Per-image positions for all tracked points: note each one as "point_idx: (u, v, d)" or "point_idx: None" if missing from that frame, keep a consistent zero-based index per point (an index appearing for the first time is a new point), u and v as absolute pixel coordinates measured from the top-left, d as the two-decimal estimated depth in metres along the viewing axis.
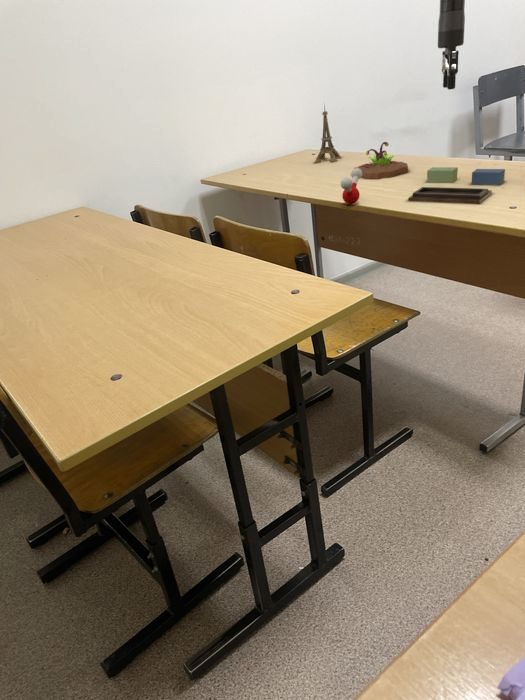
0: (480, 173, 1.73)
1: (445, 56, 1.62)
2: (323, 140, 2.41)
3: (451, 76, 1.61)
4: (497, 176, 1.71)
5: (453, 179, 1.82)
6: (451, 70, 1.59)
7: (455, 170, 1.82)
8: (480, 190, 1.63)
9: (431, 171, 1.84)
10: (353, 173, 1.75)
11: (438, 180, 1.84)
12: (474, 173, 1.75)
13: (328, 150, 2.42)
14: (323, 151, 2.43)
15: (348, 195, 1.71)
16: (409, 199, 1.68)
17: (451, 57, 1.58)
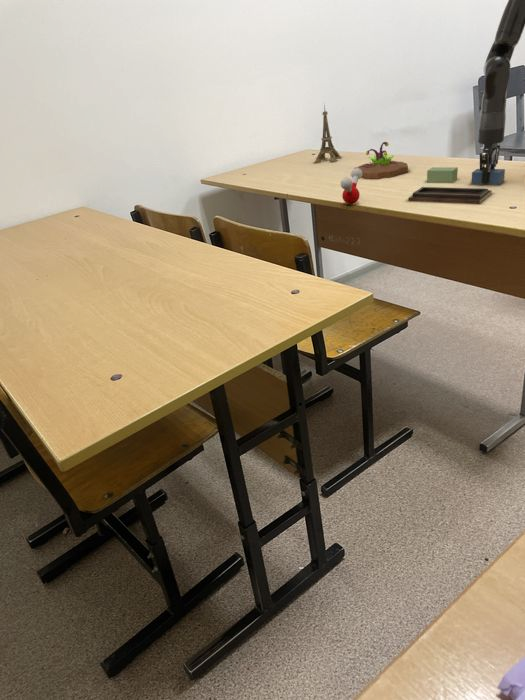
0: (480, 173, 1.73)
1: (482, 151, 1.71)
2: (323, 140, 2.41)
3: (484, 172, 1.71)
4: (497, 176, 1.71)
5: (453, 179, 1.82)
6: (481, 169, 1.70)
7: (455, 170, 1.82)
8: (480, 190, 1.63)
9: (431, 171, 1.84)
10: (353, 173, 1.75)
11: (438, 180, 1.84)
12: (474, 173, 1.75)
13: (328, 150, 2.42)
14: (323, 151, 2.43)
15: (348, 195, 1.71)
16: (409, 199, 1.68)
17: (481, 158, 1.68)
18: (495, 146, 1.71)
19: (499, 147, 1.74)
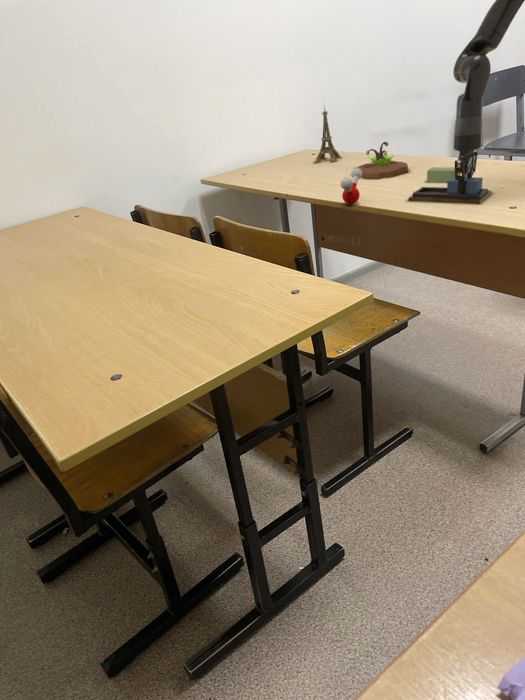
0: (456, 182, 1.61)
1: (458, 159, 1.58)
2: (323, 140, 2.41)
3: (460, 181, 1.59)
4: (474, 186, 1.58)
5: None
6: (457, 177, 1.57)
7: None
8: None
9: (431, 171, 1.84)
10: (353, 173, 1.75)
11: (438, 180, 1.84)
12: (449, 182, 1.62)
13: (328, 150, 2.42)
14: (323, 151, 2.43)
15: (348, 195, 1.71)
16: (409, 199, 1.68)
17: (456, 166, 1.55)
18: (472, 153, 1.58)
19: (477, 154, 1.62)
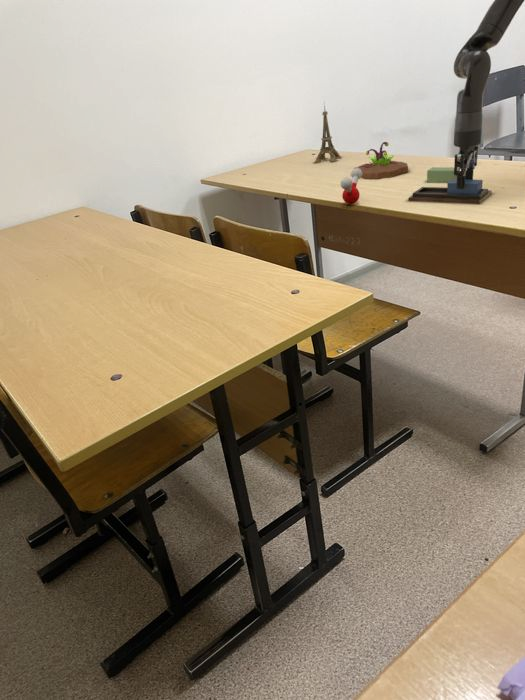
0: (456, 184, 1.61)
1: None
2: (323, 140, 2.41)
3: (459, 177, 1.57)
4: (474, 188, 1.58)
5: None
6: (456, 172, 1.56)
7: None
8: None
9: (431, 171, 1.84)
10: (353, 173, 1.75)
11: (438, 180, 1.84)
12: (449, 184, 1.62)
13: (328, 150, 2.42)
14: (323, 151, 2.43)
15: (348, 195, 1.71)
16: (409, 199, 1.68)
17: (456, 160, 1.54)
18: (472, 149, 1.58)
19: (477, 148, 1.61)
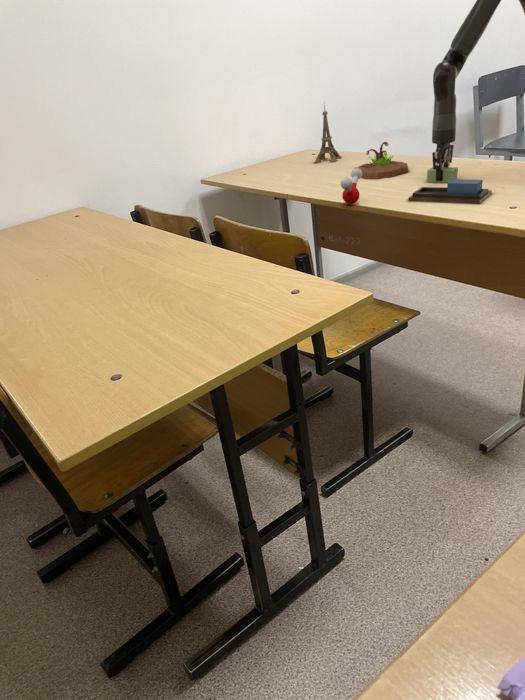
0: (456, 184, 1.61)
1: (436, 151, 1.81)
2: (323, 140, 2.41)
3: (437, 171, 1.82)
4: (474, 188, 1.58)
5: None
6: (434, 167, 1.80)
7: (455, 170, 1.82)
8: None
9: (431, 171, 1.84)
10: (353, 173, 1.75)
11: None
12: (449, 184, 1.62)
13: (328, 150, 2.42)
14: (323, 151, 2.43)
15: (348, 195, 1.71)
16: (409, 199, 1.68)
17: (433, 157, 1.78)
18: (448, 146, 1.81)
19: (452, 147, 1.85)
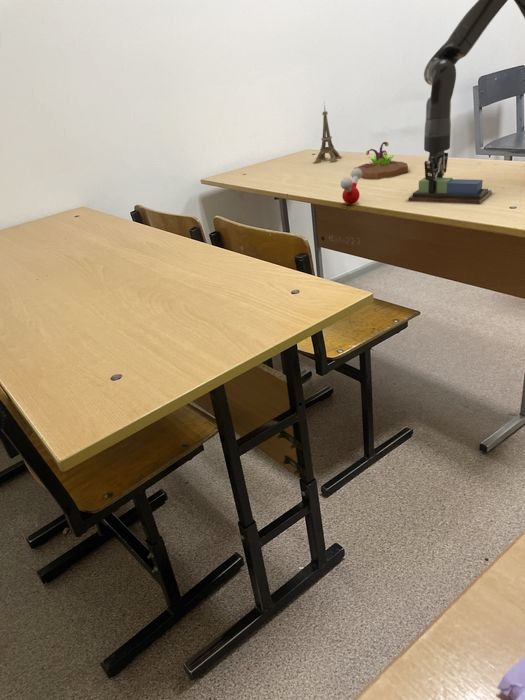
0: (456, 184, 1.61)
1: (428, 159, 1.63)
2: (323, 140, 2.41)
3: (430, 181, 1.64)
4: (474, 188, 1.58)
5: None
6: (427, 177, 1.62)
7: None
8: None
9: (423, 182, 1.67)
10: (353, 173, 1.75)
11: None
12: (449, 184, 1.62)
13: (328, 150, 2.42)
14: (323, 151, 2.43)
15: (348, 195, 1.71)
16: (409, 199, 1.68)
17: (426, 167, 1.60)
18: (442, 154, 1.64)
19: (447, 155, 1.67)
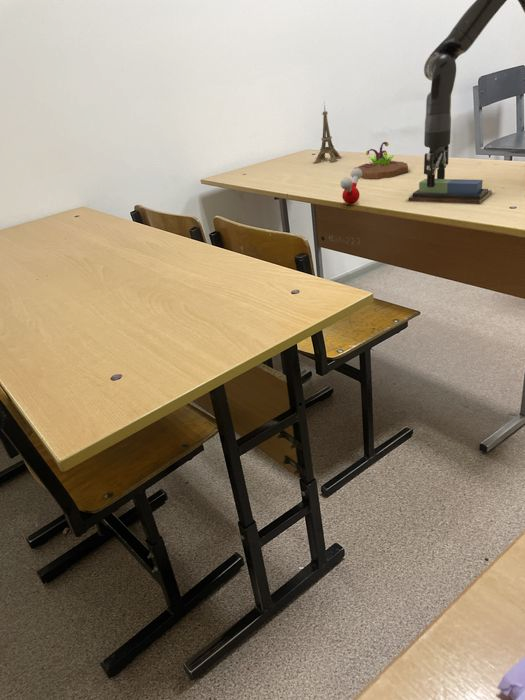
0: (456, 184, 1.61)
1: None
2: (323, 140, 2.41)
3: (428, 176, 1.62)
4: (474, 188, 1.58)
5: None
6: (425, 171, 1.60)
7: None
8: None
9: (423, 183, 1.67)
10: (353, 173, 1.75)
11: None
12: (450, 184, 1.62)
13: (328, 150, 2.42)
14: (323, 151, 2.43)
15: (348, 195, 1.71)
16: (409, 199, 1.68)
17: (425, 159, 1.59)
18: (442, 149, 1.63)
19: (447, 147, 1.66)
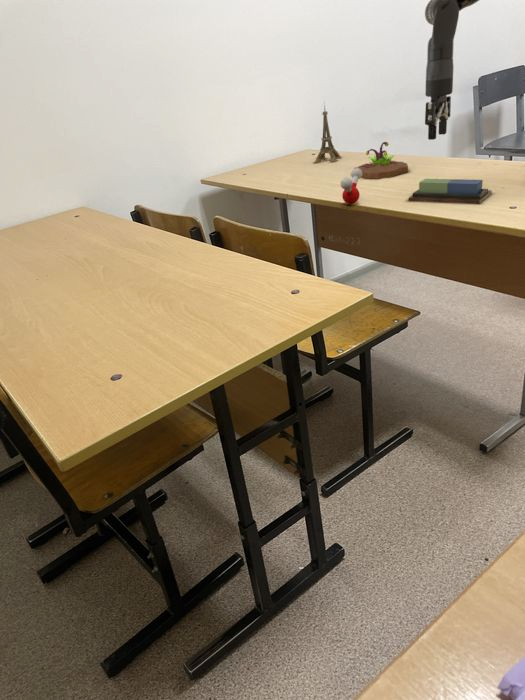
0: (456, 184, 1.61)
1: None
2: (323, 140, 2.41)
3: (430, 127, 1.55)
4: (474, 188, 1.58)
5: None
6: (427, 121, 1.53)
7: None
8: None
9: (423, 183, 1.67)
10: (353, 173, 1.75)
11: None
12: (450, 184, 1.62)
13: (328, 150, 2.42)
14: (323, 151, 2.43)
15: (348, 195, 1.71)
16: (409, 199, 1.68)
17: (427, 108, 1.52)
18: (444, 100, 1.56)
19: (450, 98, 1.59)
